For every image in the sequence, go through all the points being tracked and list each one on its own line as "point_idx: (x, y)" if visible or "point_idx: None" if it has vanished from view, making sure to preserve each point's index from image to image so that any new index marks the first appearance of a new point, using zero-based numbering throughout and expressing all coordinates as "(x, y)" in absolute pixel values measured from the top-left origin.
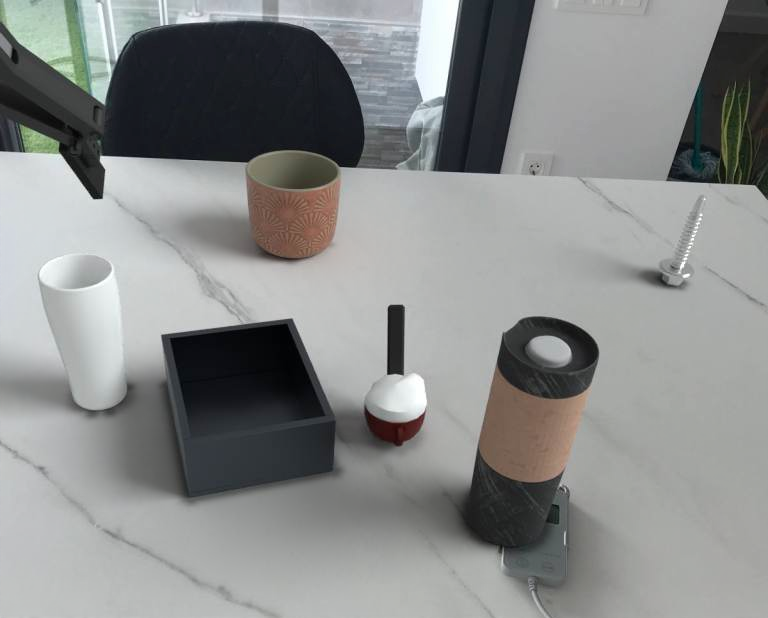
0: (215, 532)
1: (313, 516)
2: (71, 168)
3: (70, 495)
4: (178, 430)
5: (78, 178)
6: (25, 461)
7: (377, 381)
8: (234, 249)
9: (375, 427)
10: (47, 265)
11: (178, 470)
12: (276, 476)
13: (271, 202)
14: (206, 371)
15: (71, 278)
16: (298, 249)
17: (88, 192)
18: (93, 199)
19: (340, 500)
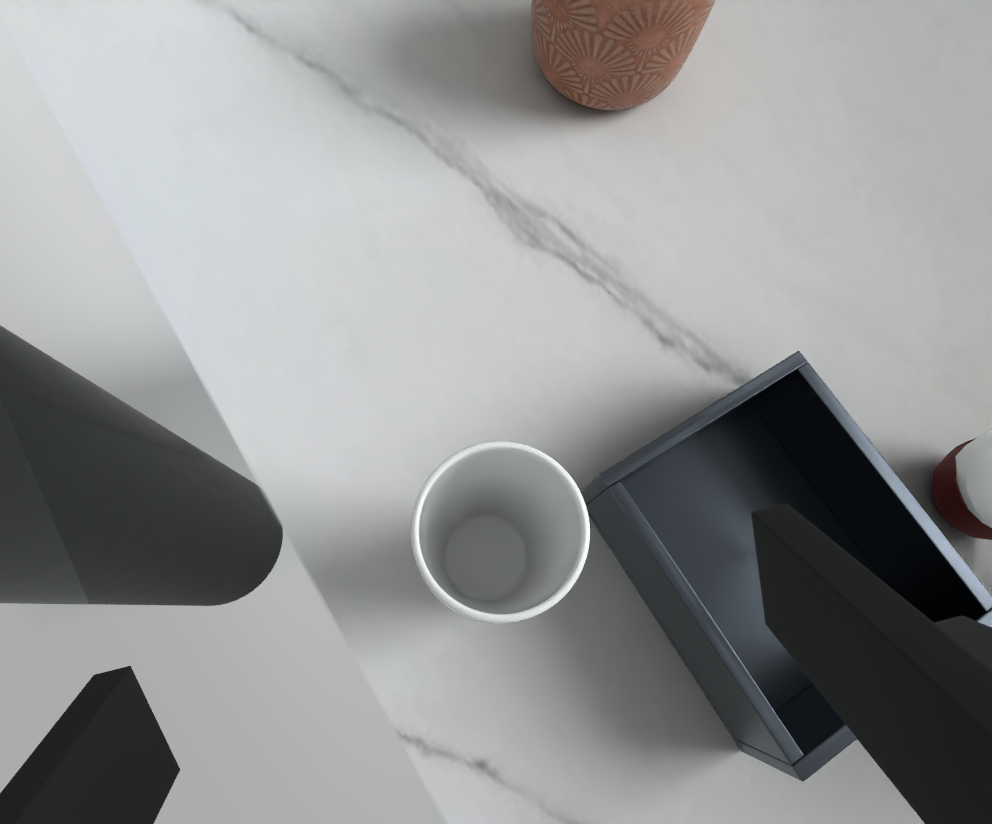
0: (814, 813)
1: None
2: (905, 795)
3: (559, 811)
4: (709, 670)
5: (848, 726)
6: (447, 758)
7: (982, 457)
8: (511, 105)
9: (980, 535)
10: (419, 522)
11: (694, 695)
12: None
13: (622, 23)
14: (645, 467)
15: (444, 481)
16: (645, 96)
17: (791, 655)
18: (765, 623)
19: None
